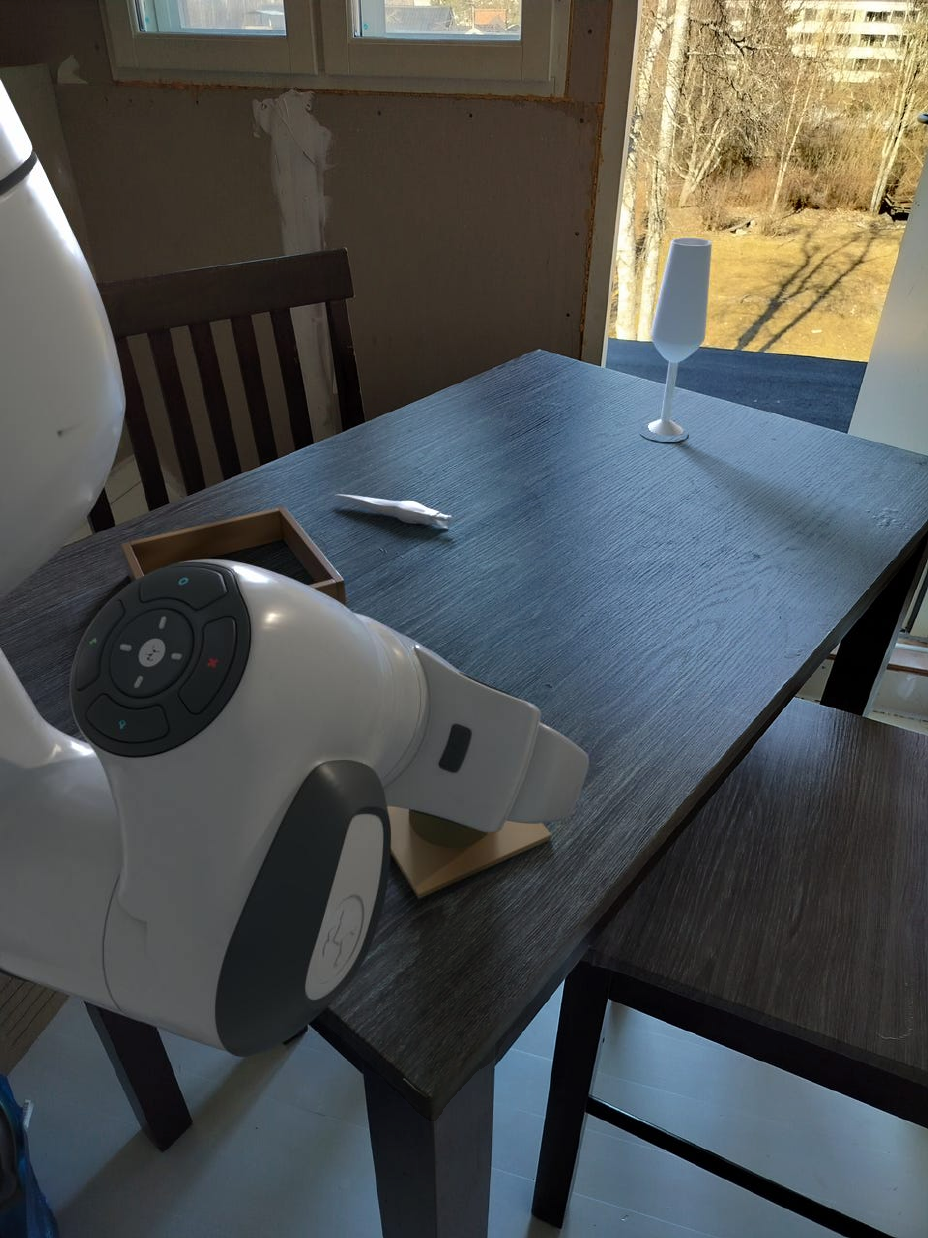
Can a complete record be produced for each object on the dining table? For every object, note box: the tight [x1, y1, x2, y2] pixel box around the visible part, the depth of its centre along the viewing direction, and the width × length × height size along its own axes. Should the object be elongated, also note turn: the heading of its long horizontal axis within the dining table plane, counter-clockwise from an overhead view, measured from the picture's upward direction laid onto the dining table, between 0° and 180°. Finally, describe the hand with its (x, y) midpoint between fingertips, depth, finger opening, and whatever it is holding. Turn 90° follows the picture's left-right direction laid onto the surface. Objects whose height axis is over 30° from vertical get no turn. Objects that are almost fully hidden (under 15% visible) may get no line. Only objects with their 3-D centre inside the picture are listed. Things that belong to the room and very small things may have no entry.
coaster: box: [387, 806, 552, 900], centre depth 59 cm, size 10×10×1 cm
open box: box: [120, 505, 348, 608], centre depth 81 cm, size 17×17×4 cm
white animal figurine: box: [334, 493, 454, 530], centre depth 94 cm, size 15×3×2 cm, turn 65°
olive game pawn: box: [409, 809, 488, 848], centre depth 55 cm, size 6×6×11 cm
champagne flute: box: [648, 237, 713, 436], centre depth 108 cm, size 7×7×24 cm
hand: (454, 737), depth 55 cm, fingers open, 8 cm apart
